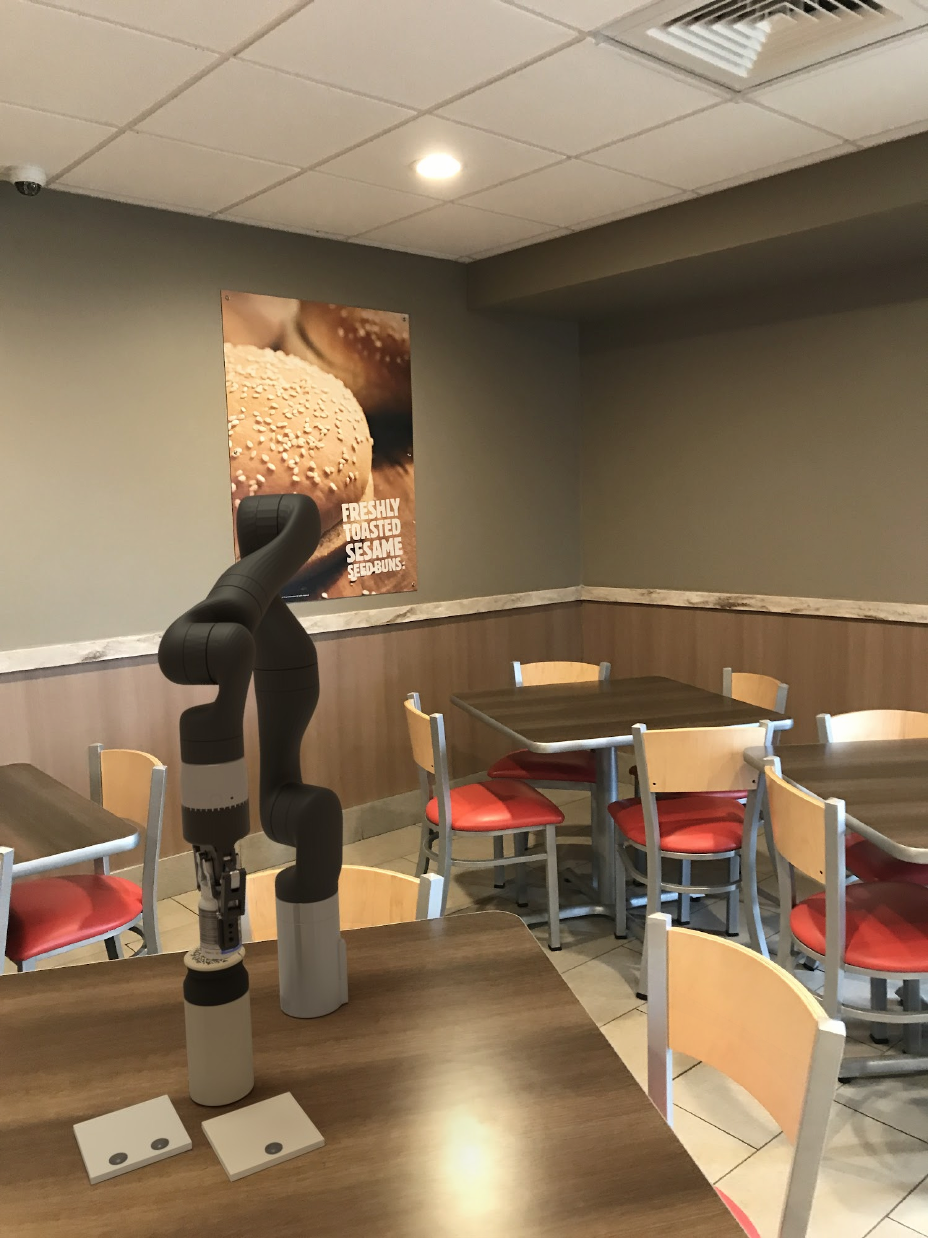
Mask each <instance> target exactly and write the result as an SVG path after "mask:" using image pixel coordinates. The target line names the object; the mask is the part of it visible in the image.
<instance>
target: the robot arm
mask: <svg viewBox="0 0 928 1238" xmlns="http://www.w3.org/2000/svg"><path fill="white" fill-rule="evenodd" d="M235 516H236V517H235V518H236V519H235V520H236V521H235V529H236V538H237V546H238V550H239V551H238V552H239V559H240V560H238V561H237V562H235V563H233V564H232V565H230V567H228V568H226V570H224V572H223V573H222V574H221V575H220V576H219V577H218V579H217V580H216V581H215V584H213V586H212V588H211V589H210V591H209V592H208V594H207V596H206V597H205V598H204V599H203V600H201V601H200V602H198V603H196V604H194V605H193V607H191V608H189V609H188V610H187V611H185V612H184V613H183V614H182V615H180V616H179V617H177V618H176V619H175V620H174V621H173V622H171V624H170V625H169V626H168V627H167V628H166V630H165V632H164V633H163V634H162V637H161V639H160V642H159V645H158V650H157V663H158V666H159V670H160V672H162V675H163V676H164V677H165V678H166V679H167V680H168V681H170V682H171V683H174V684H176V685H180V686H218V691H217V695H216V697H215V700H214V701H211V702H207V703H203V704H198V705H193V706H190V707H189V708H186V709H184V711H182V712H181V714H180V716H179V717H180V718H179V725H178V726H179V727H178V728H179V729H178V731H179V746H180V748H179V749H180V761H181V762H180V774H179V786H180V789H179V790H180V807H181V810H180V811H181V825H182V828H181V829H182V838H183V839H184V841H185V842H186V843H188V844H190V845H191V848H192V851H193V853H192V854H193V861H194V868H195V869H194V871H195V877H196V889H197V892H199V893H201V882H202V881H203V880H204V879H207V882H208V890H209V896H210V898H211V899H214V901H215V908H216V917H217V928H218V946H219V948H220V949H221V950H222V951H225V950H229V949H233V948H236V947H238V945H239V928H238V916H241V917H242V916H245V914H246V894H247V893H246V892H247V871H246V868H245V867H242V868H240V867H241V859H240V854H239V852H237V851H236V848H235V845H236V844H237V842H238V841H240V840H243V839H245V838H246V837H247V836H248V835H249V834H250V832H251V820H250V819H251V818H250V816H251V815H250V814H251V813H250V798H249V797H250V796H249V777H248V769H247V765H246V757H245V739H244V738H245V737H244V735H245V734H244V717H245V711H246V710H245V709H246V703H247V698H248V691H249V688H250V683H251V679H252V675H253V684H254V685H253V686H254V694H255V700H256V701H255V703H256V711H257V712H256V714H257V727H258V745H259V787H258V788H259V789H258V791H259V792H258V793H259V795H258V799H259V800H258V806H259V807H258V808H259V811H258V812H259V820H260V821H259V822H260V825H261V828H262V830H263V832H264V834H265V836H266V837H267V838H268V839H269V840H271V842H274V843H276V844H279V845H283V846H287V847H291V848H294V849H295V864H292V865H290V866H287V867H285V868H283V869H282V870H280V871H278V873H277V874H276V876H275V878H274V894H275V895H274V896H275V899H274V900H275V917H276V918H275V919H276V920H275V921H276V938H277V940H276V941H277V942H276V943H277V959H278V982H279V998H280V999H279V1000H280V1009H281V1011H282V1012H283V1013H284V1014H286V1015H289V1016H290V1017H295V1018H301V1019H303V1018H304V1019H305V1018H306V1019H309V1018H310V1019H311V1018H318V1017H322V1016H325V1015H328V1014H331V1013H333V1012H334V1011H337V1009H339V1007H341V1006H342V1005H344V1004H346V1003H349V991H348V990H349V989H348V988H349V987H348V985H349V984H348V965H347V964H348V962H347V943H346V940H345V939H344V938H343V937H341V920H340V919H341V917H340V916H341V915H340V897H339V895H340V892H339V879H340V875H341V873H342V869H343V868H342V867H343V857H344V856H343V854H344V853H343V851H344V850H343V847H344V816H343V807H342V803H341V799H340V798H339V796H338V795H337V793H336V792H335V791H334V790H332V789H330V788H329V787H328V788H327V787H324V786H320V785H319V786H318V785H313V784H308V783H304V781H303V777H302V770H301V769H302V768H301V746H302V741H303V738H304V735H305V732H306V730H307V728H308V726H309V725H310V722H311V720H312V718H313V715H314V713H315V711H316V709H317V705H318V703H319V698H320V695H321V694H320V693H321V692H320V691H321V690H320V689H321V688H320V687H321V686H320V684H321V683H320V671H319V662H318V652H317V648H316V646H315V644H314V641H313V639H312V638H311V636H310V635H309V633H308V632H307V630H306V629H305V628H304V626H303V625H302V623H301V622H300V620H299V619H298V618H297V617H296V616H295V614H294V613H293V612H292V609H290V607H289V606H288V604H287V603H286V602H285V600H284V598H283V596H282V593H280V591H281V590H282V589H283V587H284V586H285V585H286V584H287V583H288V582H289V581H290V580H291V579H292V578H293V577H294V576H295V575H296V574H297V573H298V572H299V571H300V569H301V568H302V567H303V566H304V565H305V564H306V563H307V562H308V561H309V560H310V559H311V558H312V557H313V555H314V554H315V553H316V551H317V549H318V547H319V545H320V541H321V536H322V520H321V514H320V510H319V507H318V505H317V502H316V501H315V500H314V499H313V497H311V496H310V495H307V494H305V493H299V492H298V493H297V492H296V493H294V492H292V493H290V492H287V493H273V494H271V493H269V494H255V495H254V494H253V495H248V496H245V497H242V499H241V500H240V502H239V503H238V506H237V510H236V515H235ZM216 886H217V887H220V886H221V890H220V891H218V890H216V888H215V887H216ZM201 897H202V895H201V894H200V898H201ZM231 901H232V904H233V906H229V907H228V903H229V902H231Z"/></svg>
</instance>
